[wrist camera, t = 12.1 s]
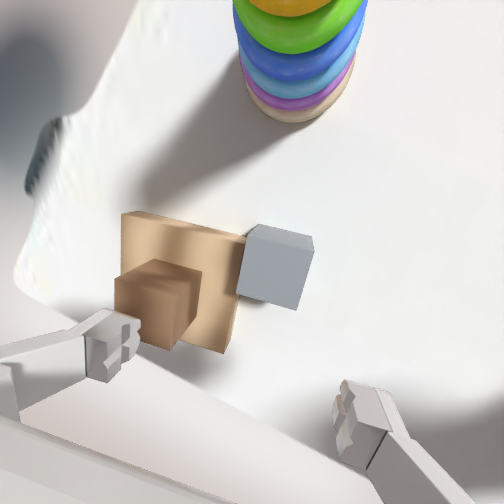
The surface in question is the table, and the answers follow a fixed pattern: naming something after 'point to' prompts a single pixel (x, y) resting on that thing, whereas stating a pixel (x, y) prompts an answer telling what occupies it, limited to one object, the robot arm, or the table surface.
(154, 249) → the base board
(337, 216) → the table surface
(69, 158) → the table surface
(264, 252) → the slate block
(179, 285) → the walnut block
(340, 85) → the stacking toy
